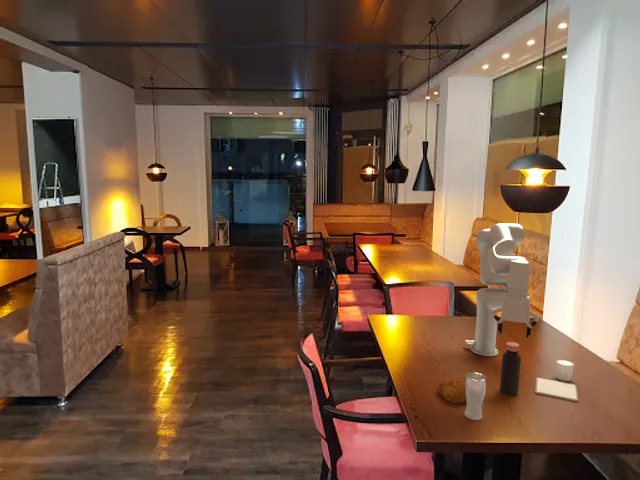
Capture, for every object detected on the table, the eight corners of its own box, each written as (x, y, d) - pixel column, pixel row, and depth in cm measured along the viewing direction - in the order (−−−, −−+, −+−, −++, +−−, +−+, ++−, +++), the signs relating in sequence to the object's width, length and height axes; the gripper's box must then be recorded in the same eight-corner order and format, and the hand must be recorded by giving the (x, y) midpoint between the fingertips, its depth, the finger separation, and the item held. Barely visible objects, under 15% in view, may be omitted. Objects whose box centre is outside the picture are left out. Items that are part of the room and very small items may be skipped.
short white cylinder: (571, 376, 204) (572, 360, 203) (573, 382, 197) (575, 366, 196) (553, 373, 206) (555, 358, 205) (555, 380, 200) (557, 364, 198)
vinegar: (509, 397, 183) (513, 348, 180) (496, 390, 189) (499, 342, 186) (521, 393, 186) (526, 345, 184) (507, 386, 192) (511, 339, 189)
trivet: (534, 393, 187) (535, 391, 187) (535, 378, 200) (536, 376, 200) (578, 402, 180) (578, 400, 180) (576, 386, 194) (576, 384, 194)
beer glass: (460, 411, 172) (462, 372, 170) (478, 410, 173) (481, 372, 170) (467, 421, 165) (470, 380, 163) (486, 420, 166) (490, 380, 164)
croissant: (483, 403, 183) (487, 383, 182) (457, 408, 174) (460, 387, 174) (455, 387, 195) (458, 369, 194) (428, 391, 186) (432, 372, 186)
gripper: (492, 291, 182) (489, 333, 185) (541, 297, 175) (537, 341, 177) (494, 287, 189) (491, 328, 191) (542, 292, 181) (538, 335, 184)
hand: (513, 334), depth 184 cm, fingers open, 9 cm apart
